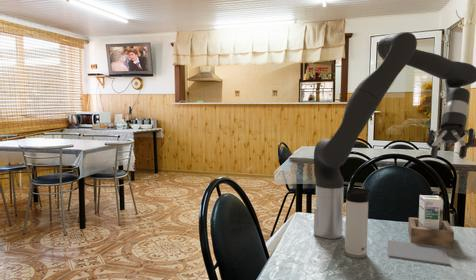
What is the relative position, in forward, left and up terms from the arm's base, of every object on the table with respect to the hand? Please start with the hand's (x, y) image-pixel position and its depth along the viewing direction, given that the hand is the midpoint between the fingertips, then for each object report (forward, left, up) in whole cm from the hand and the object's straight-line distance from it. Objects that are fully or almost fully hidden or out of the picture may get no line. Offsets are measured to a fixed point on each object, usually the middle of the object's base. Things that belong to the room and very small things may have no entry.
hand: (447, 157), depth 121 cm
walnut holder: (-5, -7, -27) cm, 28 cm away
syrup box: (-5, -7, -27) cm, 28 cm away
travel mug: (-27, -29, -27) cm, 48 cm away
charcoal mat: (-10, -21, -27) cm, 35 cm away
